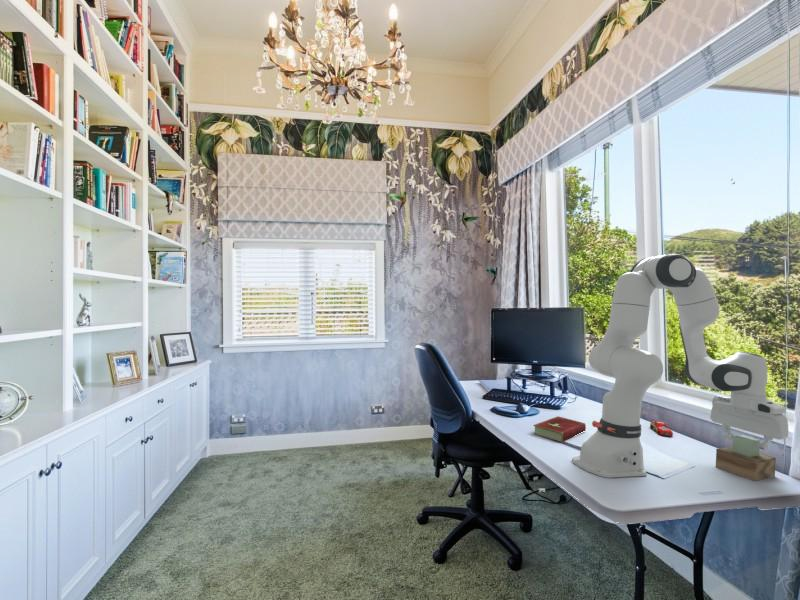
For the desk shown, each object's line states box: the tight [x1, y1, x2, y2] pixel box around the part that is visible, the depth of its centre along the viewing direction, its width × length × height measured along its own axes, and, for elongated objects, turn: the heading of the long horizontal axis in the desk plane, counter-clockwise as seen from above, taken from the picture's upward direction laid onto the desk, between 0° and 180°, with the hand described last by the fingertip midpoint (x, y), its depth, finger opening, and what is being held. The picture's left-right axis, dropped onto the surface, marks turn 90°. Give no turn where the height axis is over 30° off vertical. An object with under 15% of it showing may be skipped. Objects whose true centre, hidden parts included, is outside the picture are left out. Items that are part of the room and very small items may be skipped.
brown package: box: [715, 445, 777, 482], centre depth 132 cm, size 11×11×6 cm
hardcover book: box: [533, 415, 587, 443], centre depth 164 cm, size 12×21×4 cm, turn 133°
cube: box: [732, 434, 761, 457], centre depth 132 cm, size 5×5×5 cm
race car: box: [649, 420, 674, 437], centre depth 171 cm, size 13×5×4 cm, turn 165°
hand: (745, 443), depth 132 cm, fingers open, 8 cm apart
